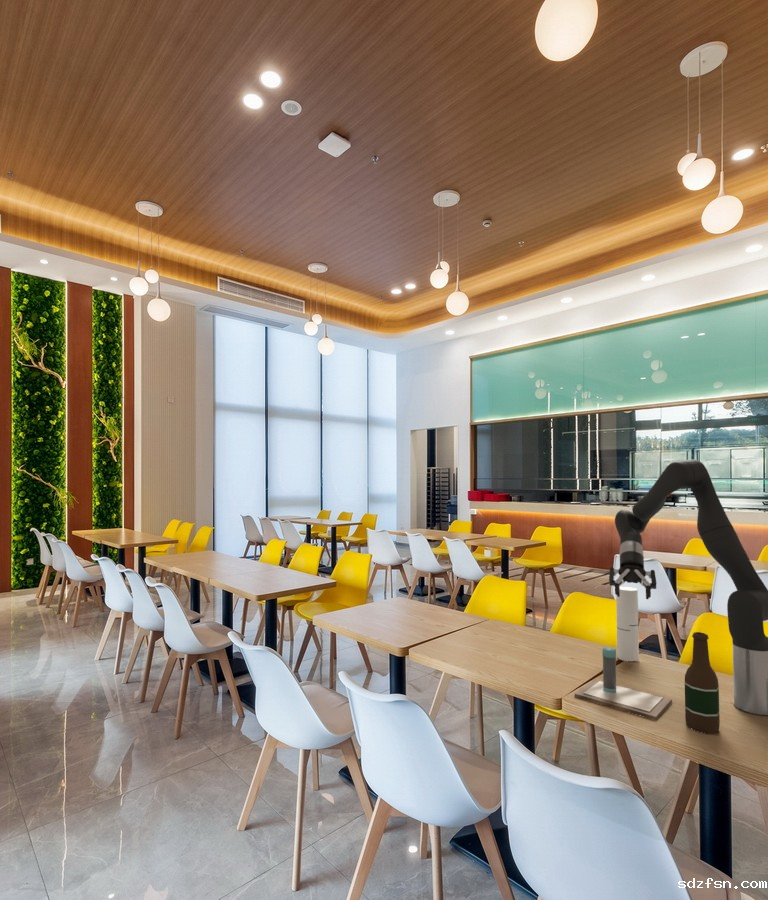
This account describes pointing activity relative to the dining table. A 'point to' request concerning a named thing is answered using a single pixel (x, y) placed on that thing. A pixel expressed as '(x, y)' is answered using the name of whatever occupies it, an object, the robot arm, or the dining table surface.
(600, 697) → the writing board
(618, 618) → the cylindrical container
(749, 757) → the dining table surface
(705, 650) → the beer bottle
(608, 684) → the teal-capped glass tube
